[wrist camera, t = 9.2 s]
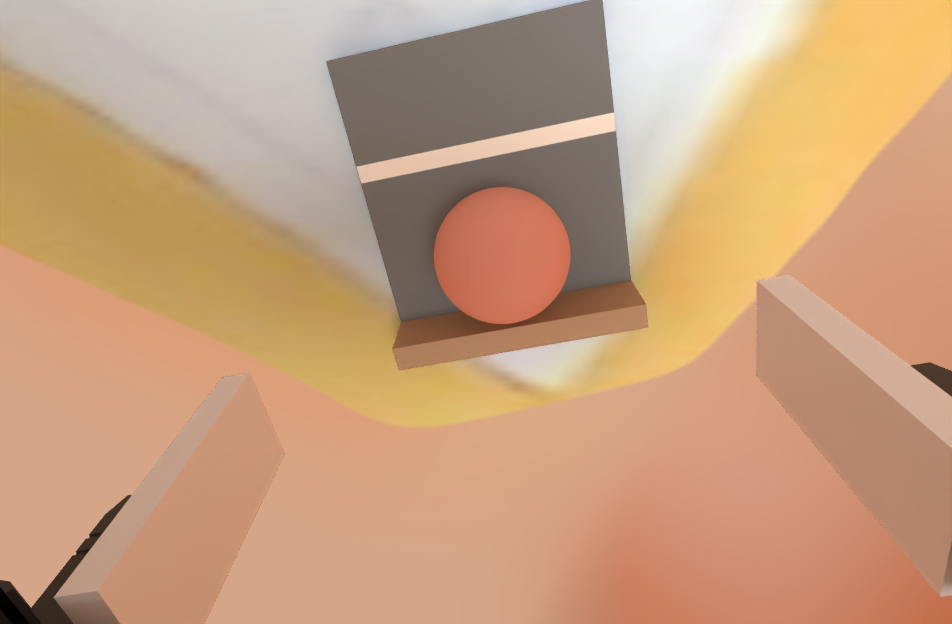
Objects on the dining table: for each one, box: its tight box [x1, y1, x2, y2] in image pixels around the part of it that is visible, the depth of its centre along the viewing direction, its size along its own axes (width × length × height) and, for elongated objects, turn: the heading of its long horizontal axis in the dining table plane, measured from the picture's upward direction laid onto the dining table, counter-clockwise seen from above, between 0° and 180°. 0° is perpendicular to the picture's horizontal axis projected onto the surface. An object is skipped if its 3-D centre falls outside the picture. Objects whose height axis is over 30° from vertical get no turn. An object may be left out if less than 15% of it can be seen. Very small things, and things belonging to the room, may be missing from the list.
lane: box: [326, 0, 648, 370], centre depth 26 cm, size 14×12×4 cm
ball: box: [434, 187, 571, 324], centre depth 25 cm, size 6×6×6 cm
